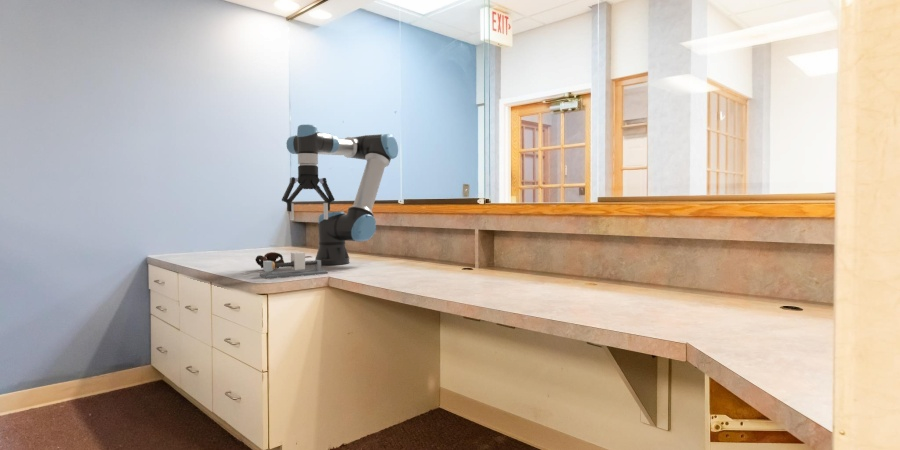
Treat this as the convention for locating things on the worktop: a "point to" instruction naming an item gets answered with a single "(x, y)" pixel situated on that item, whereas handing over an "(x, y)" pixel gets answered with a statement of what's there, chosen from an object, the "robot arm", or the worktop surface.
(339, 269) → the worktop surface
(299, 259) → the sleeve
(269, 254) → the pottery mug
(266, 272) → the cord jig
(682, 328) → the worktop surface
